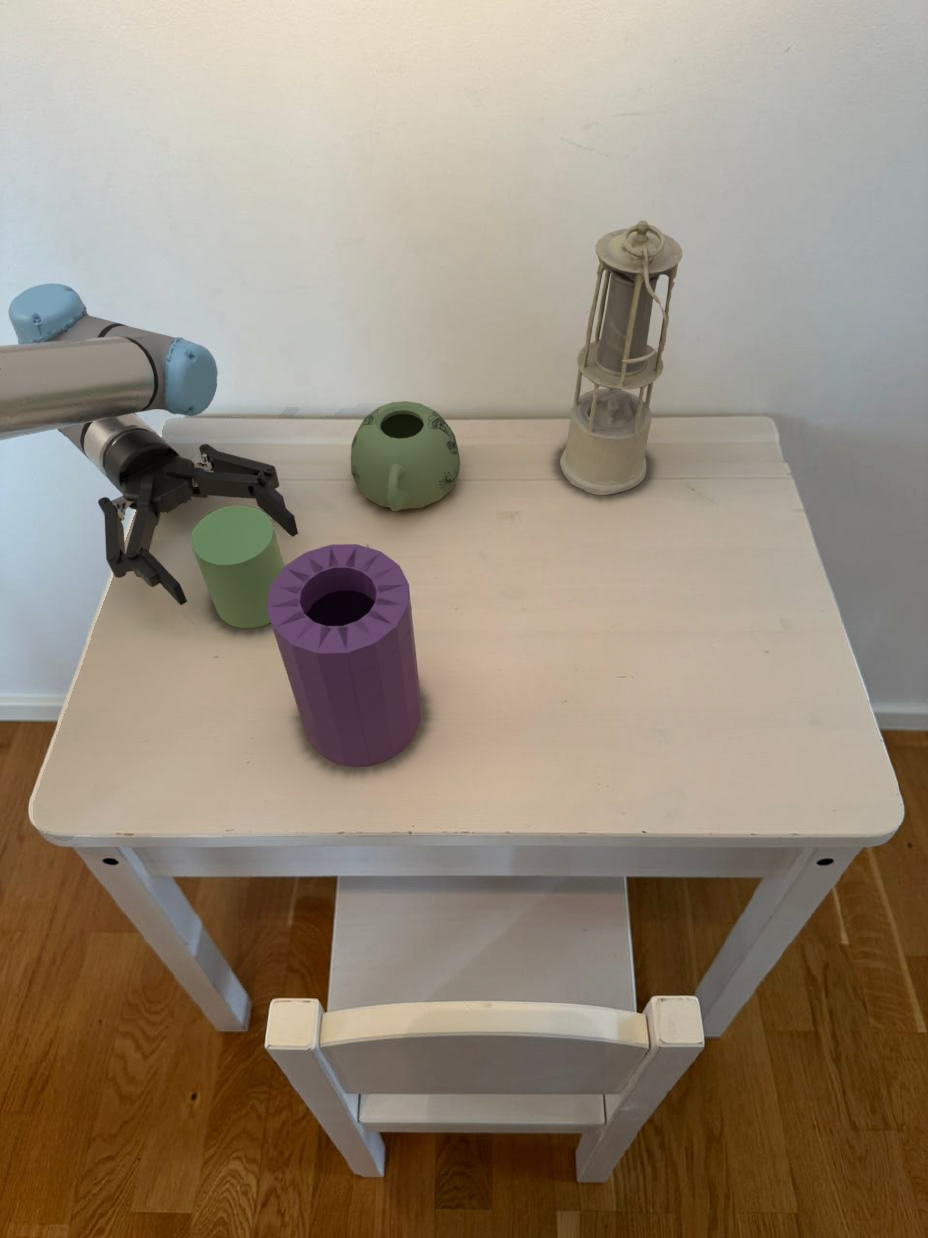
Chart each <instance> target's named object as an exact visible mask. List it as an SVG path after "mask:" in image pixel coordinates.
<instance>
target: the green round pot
mask: <svg viewBox="0 0 928 1238" xmlns="http://www.w3.org/2000/svg"><path fill="white" fill-rule="evenodd" d="M350 448H351V449H350V470H351V471H350V472H351V475H352V478H353V480H354V482H355V485H356V486H357V488H358V489H359V490H360V493H361V494H362V495H363V497H364V498H366V499H368V500H369V501H371V502H373V503H375V504H376V505H378V506H380V507H385V508H389V510H390V511H392V512H398V511H400V510H409V509H421V508H423V507H426V506H428V505H431V504H433V503H436V502H438V501H440V500H441V499H442V498H443V497H445V496H446V495H447V494H448V493H450V491H452V490H453V488H454V486H455V483H456V481H457V478H458V476H459V472H460V467H461V458H460V452H459V448H458V443H457V439H456V435H455V434H454V431H453V430H452V428H451V427H450V425H449V424H448V423H447V422H446V421H445V419H444V418H443V417H442V415H441V414H440V413H439V412H438V411H437V410H434V409H433V408H431V407H429V406H426V405H425V404H422V403H420V402H414V401H408V400H404V401H392V402H389V403H387V404H384V405H381V406H379V407H377V408H375V410H373V411H371V413H369V414H368V415H367V416H365V417H364V418H363V420H362V421H361V423H360V425H359V427H358V429H357V431H356V433H355V435H354V436H353V439H352V442H351V447H350Z"/></svg>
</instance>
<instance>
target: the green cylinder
mask: <svg viewBox="0 0 928 1238" xmlns="http://www.w3.org/2000/svg"><path fill="white" fill-rule="evenodd" d="M190 545H191V549H192V552H193V554H194V556H195V559H196V561H197V564H198V567H199V569H200V572H201V573H202V574H201V575H202V578H203V580H204V582H205V585H206V588H207V590H208V592H209V595H210V598H211V600H212V603H213V605H214V608H215V611H216V613H217V615H218V616H219V617H220V619H221V620H222V621H223V622H224V623H226V624H228V625H230V626H232V627H235V628H239V629H257V628H260V627H265V626H267V625H270V624H271V622H270V618H269V615H268V612H267V609H266V607H267V602H268V596H269V590H270V587H271V585H272V583H273V582H274V580H275V579H276V578H277V576H278V575H279V573H280V572H281V570H282V569H283V568H284V566H285V564H284V560H283V557H282V553H281V549H280V545H279V542H278V537H277V534H276V531H275V527H274V524H273V521H272V518H271V517H270V516H269V515H268V514H267V513H265V512H264V511H263V510H262V509H259V508H257V507H254V506H250V505H243V504H241V505H238V504H237V505H229V506H225V507H221V508H218V509H215V510H214V511H212V512H209V513H208V514H207V515H205V516H204V517H202V518H201V519H200V520H199V521H198V523H197V524H196V525H195V526H194V529H193V530H192V532H191V537H190Z"/></svg>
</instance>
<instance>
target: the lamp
mask: <svg viewBox="0 0 928 1238" xmlns="http://www.w3.org/2000/svg"><path fill="white" fill-rule="evenodd" d="M595 255H596V256H597V258H598V261H599V264H598V266H597V270H596V275H597V279H596V283H595V289H594V294H593V298H592V303H591V306H590V311H589V312H588V311H586V313H589V316H588V322H587V328H586V336H585V337H586V338H585V344H584V346H583V347H582V348H581V349H580V350H579V352H578V355H577V357H576V365H577V367H578V369H577V376H576V384H575V391H574V397H573V403H572V406H571V410H570V420H569V427H568V432H567V433H568V434H567V439H566V446H565V449H564V450H563V452H562V454H561V457H560V459H559V466H560V468H561V472H562V473H563V476H564V477H565V478H566V480H567V481H568V482H569V484H571V485H572V486H574V487H576V488H578V489H580V490H582V491H584V492H586V493H588V494H591V495H592V494H593V495H597V496H606V495H607V496H608V495H614V494H618V493H621V492H625V491H628V490H631V489H634V487H637V486H638V485H639V484H640V483H642V482H643V481H644V479H645V477H646V474H647V459H646V451H647V445H648V440H649V439H648V438H649V433H650V429H651V428H650V427H651V424H652V411H651V408H650V405H651V404H650V403H651V397H652V392H653V387H654V382H656V381H657V379H659V378H660V376H661V375H662V374H663V371H664V361H663V358H662V354H663V352H664V351H665V346H666V342H667V333H668V327H669V321H670V317H669V313H670V312H669V311H670V302H671V299H672V290H673V288H674V287H675V281H674V280H675V279H676V277H677V272H678V267H679V266H678V265H679V263H680V262H681V260H682V258H683V249H682V247H681V245H680V243H678V242H677V241H676V240H675V239H674V238H673V237H671V236H669V235H666V234H665V233H662V231H661V230H660V229H659V228H658V227H656V226H655V225H653V224H649V223H648V221H647V220H640V221H638V223H637V224H634V225H632V226H630V227H628V228H622V229H619V230H618V229H617V230H613V231H611V232H608V233H606V234H604V235H603V236H602V237H600V238H599V239H598V241H597V242H596V244H595ZM604 271H605V273H604ZM603 274H604V279H603V284H602V278H603ZM662 275H663V276H667V277H668V280H667V281H668V283H667V293H666V299H665V308H663V307H662V302H661V300H660V298H659V297H658V296H657V294H656V289H657V283H658V281H659V279H660V276H662ZM601 284H602V289H601ZM600 289H601V294H600ZM599 295H601V296H600V301H599V302H600V303H599V308H598V315H597V322H596V326H595V334H594V340H593V341H592V342H591V340H592V333H593V326H594V320H595V315H596V310H597V304H598V300H599ZM654 301H655V303H657V304H658V305H659V308H660V310H661V312H662V313H661V314H662V316H663V317H662V323H661V329H660V334H659V341H658V346H657V348H655V349H654V348H653V347H652V346H651V345H649V344H648V338H649V332H650V325H651V317H652V310H653V302H654ZM605 307H606V308H605ZM583 377H584V378H587V380H588V381H590V382H591V383H593V390H590V391H588V392H585V393H583V394H581V389H582V380H583V379H582V378H583ZM600 387H603V388H600ZM645 388H646V394H645V393H644V392H645ZM634 389H639V394H638V395H636V394H634V393H632V392H629V391H631V390H634ZM627 390H629V391H627ZM644 395H645V400H643V397H644Z"/></svg>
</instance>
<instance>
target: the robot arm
mask: <svg viewBox="0 0 928 1238" xmlns="http://www.w3.org/2000/svg"><path fill="white" fill-rule="evenodd" d="M8 318H9V320H10V323H11V325H12V328H13V329H14V330H13V331H14V333H15V335H16V338H17V343H18V344H7V345H0V441H5V440H10V439H14V438H20V437H24V436H25V437H26V436H30V435H33V434H39V433H44V432H49V431H53V430H57V431H58V432H59V433H61V434H62V435H63V436H64V437H66V438H67V439H68V440H69V441H70V442H71V443H72V444H73V445H74V446H75V447H76V448H77V449H78V450H79V452H80V453H82V454H83V455H84V456H85V457H86V458H87V459H88V460H89V461H90V462H91V463H92V464H93V465H94V466H95V467H96V468H97V470H99V471H100V473H101V474H102V475H103V476H104V477H106V478H107V480H108V481H109V482H110V483H111V484H112V485H113V486H114V487H115V488H116V489H117V490H118V491H119V493H121V494H122V495H121V496H119V497H117V498H115V499H112V500H111V499H110V498H109V497H107V496H104V497H101V498H99V499H98V501H97V504H98V506H99V508H100V510H101V512H102V514H103V516H104V536H105V540H104V541H105V558H106V562H107V564H108V566H109V568H110V570H111V571H112V574H113V576H114V577H115V578H117V579H122V578H124V577H125V576H126V575H127V573H129V572H133V573H134V574H135V576H136V577H137V578H141V579H142V580H143V581H144V582H145V583H146V585H147V586H148V587H151V588H155V587H156V586H159V585H161V586H162V587H163V589H164V590H166V591H167V592H168V594H169V595H170V596H171V597H172V598H173V599H174V600H175V601H176V602H177V603H178V604H179V605H180V606H183V605H184V604H186V603H188V600H187V597H186V595H185V592H184V590H183V588H182V585H181V583H180V582H179V581H178V580H177V579H176V578H175V577H174V576H173V574H171V573H170V571H168V570H167V568H166V567H164V565H163V564H161V563H160V561H159V560H158V559H157V558H156V557H155V556H154V555H153V554H152V553H151V551H150V550H151V546H152V542H153V539H154V538H153V537H154V534H155V531H156V530H155V529H156V527H157V526H159V522H160V518H161V515H162V514H163V513H166V514H169V513H170V512H172V511H174V510H175V509H176V508H178V507H179V506H181V505H183V504H186V503H188V502H190V501H192V500H193V498H197V499H207V498H208V497H209V496H210V497H211V496H213V497H225V498H237V499H250V500H251V499H252V500H255V501H256V505H257V507H258V508H260V510H261V511H262V512H264V513H265V514H266V515H268V517H269V518H270V519H271V520H273V521H274V522H275V523H276V524H278V526H280V527H281V528H282V529H283V530H284V531H285V532H286V533H287V534H289V535H290V536H291V537H292V538H294V537H295V536H298V534H299V530H298V526H297V521H296V518H295V514H293V513H292V512H290V510H289V509H287V506H286V502H285V498H284V495H283V494H281V492H279V491H278V490H277V489H278V488H279V487H280V481H279V478H278V477H279V476H278V473H277V469H276V466H274V465H272V464H268V463H265V462H261V461H257V460H253V459H249V458H245V457H242V456H239V455H234V454H230V453H227V452H223V451H219V450H217V449H216V448H215V447H213V446H211V445H210V444H208V443H204V444H201V445H200V446H199V447H198V450H199V452H200V453H198V454H197V455H194V456H193V457H192V458H191V459H190V458H186V457H184V456H181V455H180V454H179V453H178V452H177V450H176V449H175V448H173V447H172V446H171V445H170V444H169V443H168V442H167V441H166V440H164V438H162V437H161V436H160V435H159V434H158V433H157V432H156V431H155V430H154V429H153V428H152V427H151V426H149V425H148V424H147V423H146V422H145V421H144V420H143V419H142V418H141V417H139V415H137V414H138V413H142V412H149V411H153V410H162V411H167V412H168V413H170V414H171V415H172V414H173V415H181V416H187V417H194V416H198V415H200V414H203V412H204V411H205V410H206V409H208V408H209V406H210V405H211V403H212V402H213V400H214V397H215V395H216V392H217V387H218V373H219V371H218V367H217V362H216V360H215V358H214V355H213V354H212V353H211V352H210V350H209V349H208V348H207V347H205V346H204V345H201V344H198V343H196V342H193V341H190V340H187V339H184V337H181V336H177V337H175V336H171V335H166V334H163V333H158V332H154V331H150V330H145V329H143V328H137V327H134V326H129V325H128V324H127V325H126V324H124V323H119V322H116V321H112V320H109V319H104V318H102V317H101V318H100V317H97V316H93V315H90V314H89V313H88V311H87V306H86V304H85V303H84V302H83V300H82V299H81V296H80V294H79V293H78V292H77V291H75V289H73V288H72V287H71V286H69V285H66V284H62V283H43V284H38V285H34V286H32V287H29V288H27V289H25V290H23V291H21V293H19V294H18V295H16V296H15V297H14V298H13V299H12V300H11V302H10V304H9V306H8ZM196 485H197V486H196ZM128 508H129V509H131V510H135V511H136V513H135V516H134V521H133V524H132V528H131V531H130V535H129V539H128V542H127V546H126V544H125V543H126V542H125V529H124V524H123V522H122V521H125V519H126V518H125V516H126V510H127V509H128Z"/></svg>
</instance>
